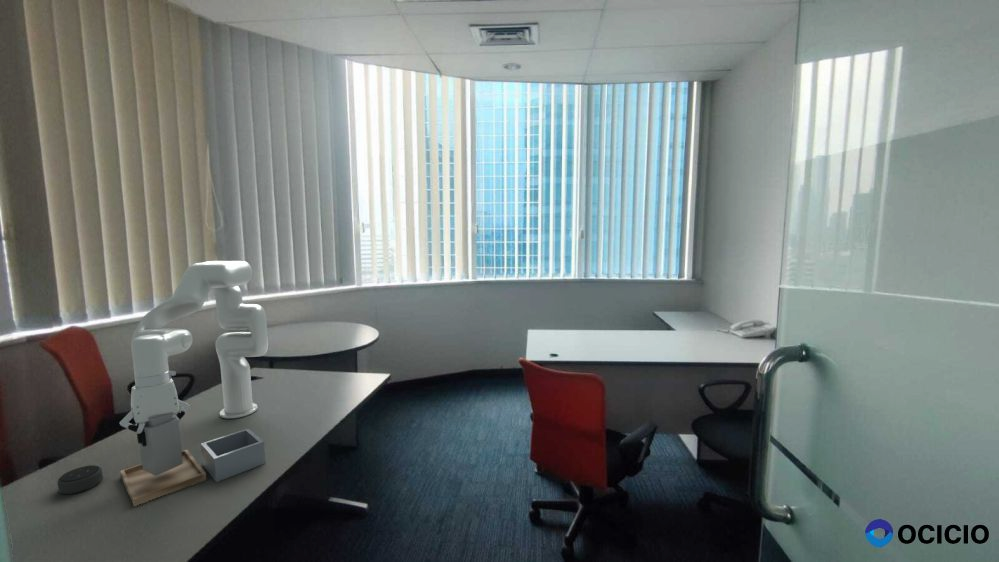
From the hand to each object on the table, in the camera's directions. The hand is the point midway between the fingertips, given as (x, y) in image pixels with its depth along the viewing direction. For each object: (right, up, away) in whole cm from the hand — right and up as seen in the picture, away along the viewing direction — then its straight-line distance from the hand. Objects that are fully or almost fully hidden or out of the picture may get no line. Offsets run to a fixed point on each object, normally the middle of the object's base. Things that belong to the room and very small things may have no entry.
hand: (159, 439), depth 122 cm
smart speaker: (-20, -13, -2) cm, 24 cm away
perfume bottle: (0, -8, +1) cm, 8 cm away
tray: (0, -12, +1) cm, 12 cm away
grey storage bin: (+16, -11, +9) cm, 21 cm away
